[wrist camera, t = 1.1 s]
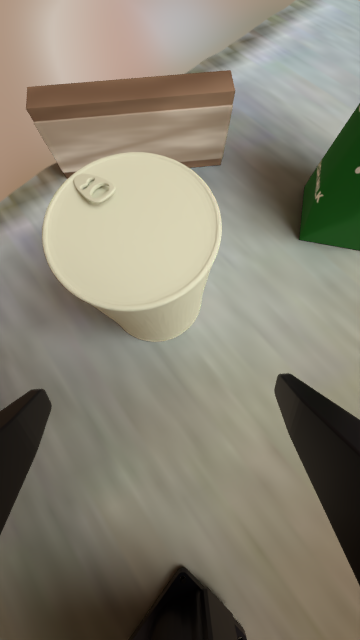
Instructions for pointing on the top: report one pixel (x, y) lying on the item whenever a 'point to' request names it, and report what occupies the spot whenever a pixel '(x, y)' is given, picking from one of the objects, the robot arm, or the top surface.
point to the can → (135, 241)
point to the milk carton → (335, 192)
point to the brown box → (135, 118)
